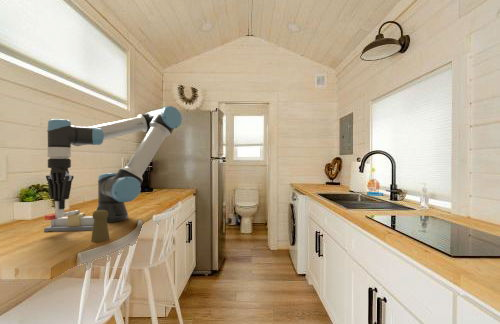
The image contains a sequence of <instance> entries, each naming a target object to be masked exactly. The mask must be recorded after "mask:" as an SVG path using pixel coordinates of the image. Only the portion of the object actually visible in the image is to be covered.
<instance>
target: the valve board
mask: <svg viewBox="0 0 500 324" xmlns="http://www.w3.org/2000/svg"><path fill="white" fill-rule="evenodd" d="M93 225H94V219H93V215H92V216H91V215H89V216H88V215H87V216H86V212H80V213H79V214H72V215H67V216H64V217H62V218H57V219H53V220H50V225H48V226H45V227H44V228H43V232H44V233H47V232H48V231H56V232H79V231H80V232H81V231H82V232H84V231H93ZM48 233H49V232H48Z"/></svg>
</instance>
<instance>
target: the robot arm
mask: <svg viewBox="0 0 500 324" xmlns="http://www.w3.org/2000/svg"><path fill="white" fill-rule="evenodd" d="M182 121H183V117H182V114H181V112H180V111H179V109H178V108H176V107H175V106H172V105H165V106H164V107H160V108H156V109H153V110H151V111H148V112H145V113H141V114H138V115H137V116H136V117H131V118H125V119H121V120H117V121H112V122H106V123H102V124H96V125H92V126H78V125H77V126H76V125H72V123H71V120H69V119H62V118H52V119H50V120H48V121H47V130H46V132H47V157H48V159H47V168H48V169H50V172H49V173H50V174H49V175H46V176H45V178H46V181H47V186H48V191H49V197H50V200H53V201H54V209H55V210H54V214H55V218H60V217H65V216H64V213H65V208H66V200H69V199H70V194H71V188H72V183H73V179H74V175H71V174H70V171H69V169H70V168H71V167H72V159H70V158H71V156H72V155H71V149H72V146H75V147H80V146H87V145H88V146H90V145H92V146H101V145H102V144H103V143H104V141H105V140H110V139H115V138H119V137H122V136H125V135H129V134H130V135H131V134H134V133H138V132H142V133H145V136H144V137H143V138H142V141H141V143H139V145H138V147H137V148H136V150H135V151H134V153H133V154H132V156H131V158H130V159H129V160H128V162H127V164H126V165H125V167H120V168H119V170H118V171H117V172H110V173H108V172H107V173H101V174H99V175H98V179H97V186H98V189H97V190H98V193H97V197H98V199H97V200H98V204H97V207H96V210H95V211H97V210H106V211H108V217H107V223H116V222H123V221H124V220H125V221H126V220H128V218H129V212H128V210H127V207H126V204H125V203H129V202H131V201H134V200H136V199H137V198H138V197H139V194H141V191H142V188H141V185H142V183H143V181H144V179H143V175H144V174H145V171H146V169H148V166H149V165H150V163H151V161H153V160H152V159H153V158H154V157H155V155H156V154H157V152H158V150H159V149H160V147H161V145H162V144H163V142H164V141H165V138H166V137H167V138H168V137H170V136H171V135H172V133H173V131H174V130H175V129H177V128H179V127H180V126H181V125H182V123H183V122H182ZM71 145H72V146H71Z"/></svg>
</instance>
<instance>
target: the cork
mask: <svg viewBox="0 0 500 324" xmlns="http://www.w3.org/2000/svg"><path fill="white" fill-rule="evenodd" d="M96 210H97V209H96ZM96 210H95V211H93V213H92V216H93V219H94V225H93V230H91V232H92V233H91V238H90V239H91V240H90V241H91V242H93V243H101V242H107V241H109V240H110V234H109V226H108V222H107V217H108V211H106V210H97V211H96Z"/></svg>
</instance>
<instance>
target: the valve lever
mask: <svg viewBox="0 0 500 324" xmlns="http://www.w3.org/2000/svg"><path fill="white" fill-rule="evenodd" d="M79 213H81V210H80V209H77V210H71V211H66V212H65V211H64V217H68V215H72V214H79ZM60 218H62V217H60ZM53 219H57V218H55V213H51V214H47V215H46V214H45V215H44V220H45V221H51V220H53Z"/></svg>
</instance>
